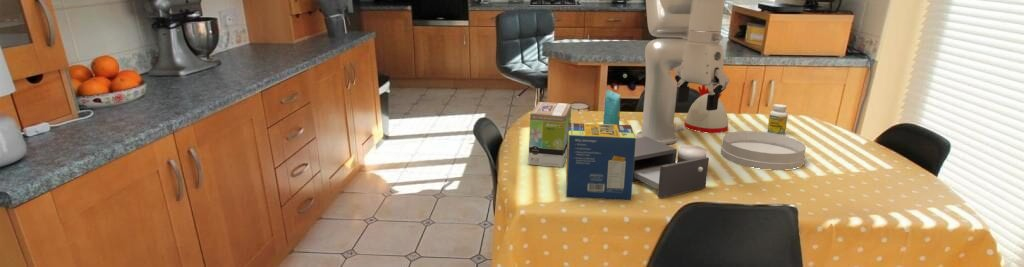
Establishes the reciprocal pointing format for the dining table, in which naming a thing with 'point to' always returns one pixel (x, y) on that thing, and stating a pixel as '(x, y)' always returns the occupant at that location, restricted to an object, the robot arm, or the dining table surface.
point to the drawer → (675, 176)
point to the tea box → (549, 134)
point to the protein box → (600, 161)
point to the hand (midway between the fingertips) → (696, 105)
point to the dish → (763, 150)
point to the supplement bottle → (778, 120)
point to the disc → (691, 152)
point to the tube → (612, 108)
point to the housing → (652, 154)
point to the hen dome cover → (706, 115)
